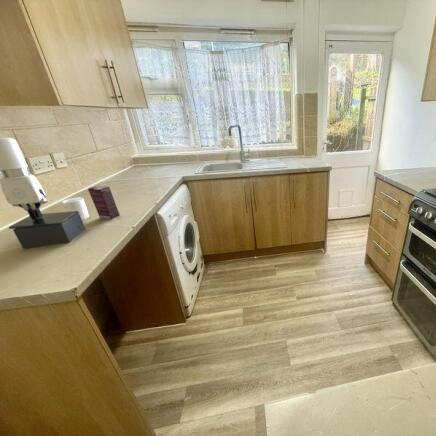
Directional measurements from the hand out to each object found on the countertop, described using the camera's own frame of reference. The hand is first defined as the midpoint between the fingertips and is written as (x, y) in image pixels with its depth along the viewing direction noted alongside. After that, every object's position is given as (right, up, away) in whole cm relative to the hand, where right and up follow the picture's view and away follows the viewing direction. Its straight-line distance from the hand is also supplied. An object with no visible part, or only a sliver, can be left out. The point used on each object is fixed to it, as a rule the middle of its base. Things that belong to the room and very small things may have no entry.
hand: (37, 218), depth 97 cm
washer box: (+3, -9, +5) cm, 11 cm away
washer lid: (+3, -1, +1) cm, 3 cm away
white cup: (-4, 0, +25) cm, 26 cm away
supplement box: (+11, 0, +25) cm, 27 cm away
